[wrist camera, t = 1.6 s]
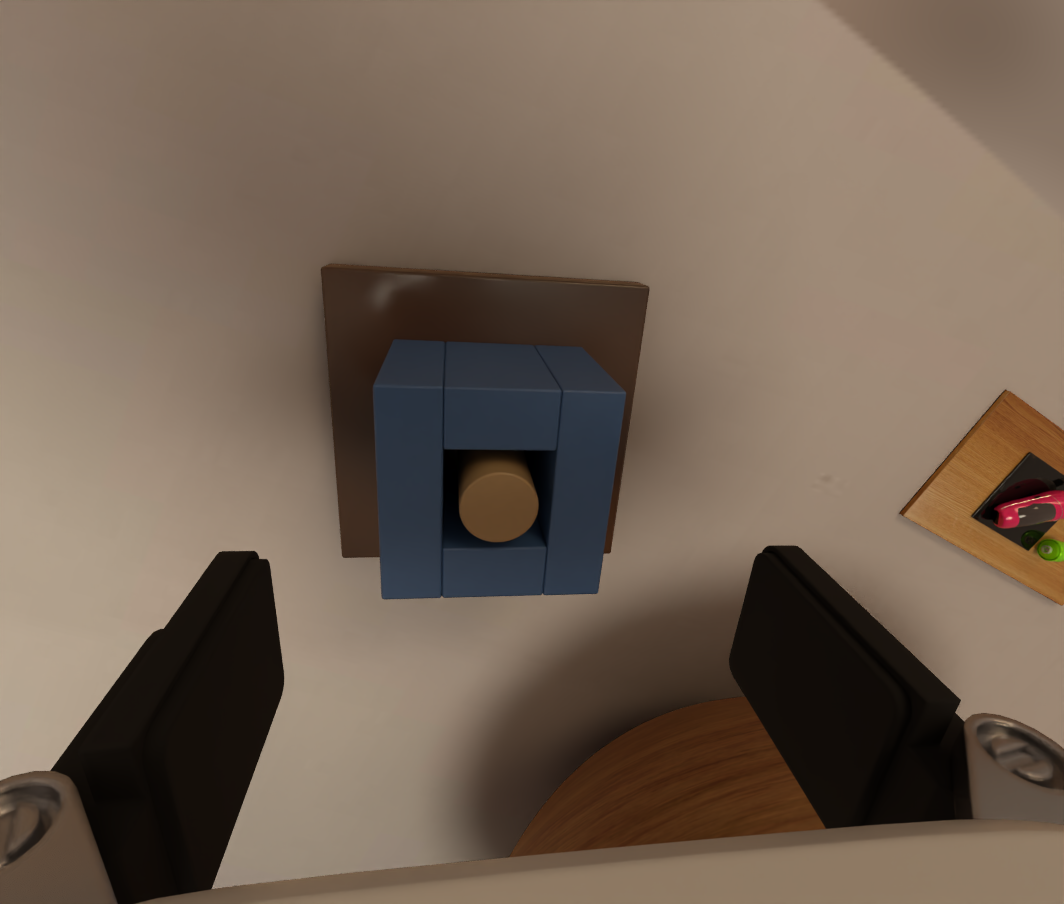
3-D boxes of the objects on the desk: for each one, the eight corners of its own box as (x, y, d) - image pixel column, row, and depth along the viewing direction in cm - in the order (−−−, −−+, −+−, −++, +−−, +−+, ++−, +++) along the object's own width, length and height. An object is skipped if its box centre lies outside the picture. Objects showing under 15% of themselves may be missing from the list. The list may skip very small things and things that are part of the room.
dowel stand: (328, 263, 17) (262, 290, 11) (639, 282, 19) (728, 315, 13) (347, 540, 21) (306, 672, 15) (603, 537, 22) (659, 656, 16)
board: (1057, 603, 28) (1089, 623, 26) (899, 513, 24) (926, 531, 23) (1159, 503, 26) (1199, 519, 25) (1005, 390, 22) (1041, 401, 21)
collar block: (392, 338, 17) (371, 384, 13) (582, 346, 18) (627, 391, 13) (397, 509, 19) (381, 600, 15) (565, 508, 20) (598, 594, 16)
